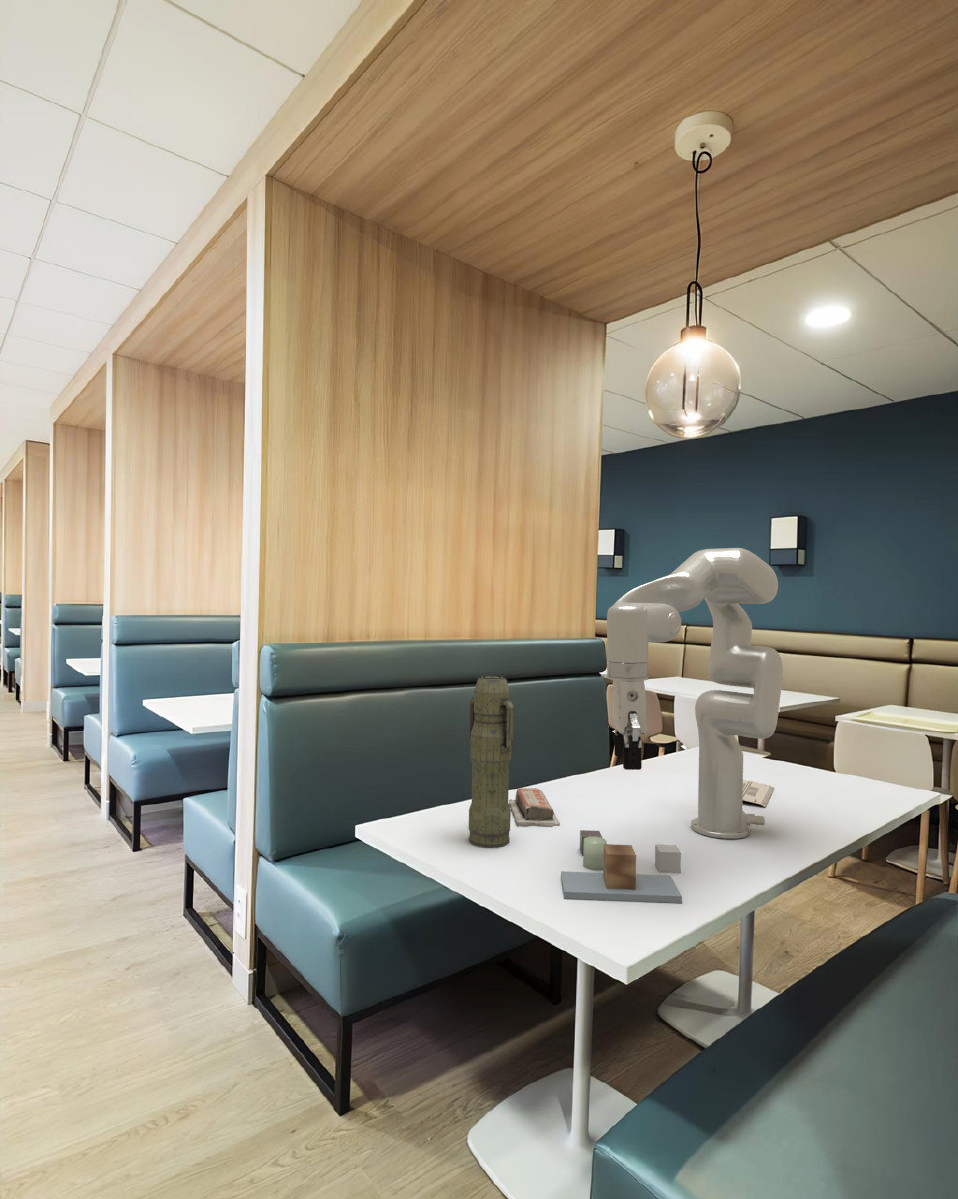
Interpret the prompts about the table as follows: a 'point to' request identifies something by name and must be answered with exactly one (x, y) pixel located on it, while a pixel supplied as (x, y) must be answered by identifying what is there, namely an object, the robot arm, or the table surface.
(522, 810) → the packaged product
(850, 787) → the table surface
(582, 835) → the dark metal block
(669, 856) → the grey plastic cube
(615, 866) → the walnut block
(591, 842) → the sage plastic cylinder
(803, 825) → the table surface
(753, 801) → the newspaper
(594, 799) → the table surface
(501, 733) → the thermos
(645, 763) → the table surface
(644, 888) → the slate board
